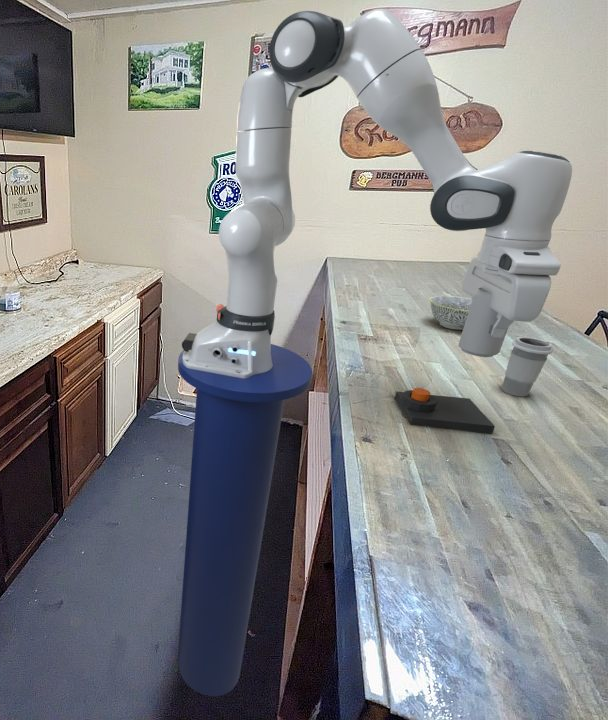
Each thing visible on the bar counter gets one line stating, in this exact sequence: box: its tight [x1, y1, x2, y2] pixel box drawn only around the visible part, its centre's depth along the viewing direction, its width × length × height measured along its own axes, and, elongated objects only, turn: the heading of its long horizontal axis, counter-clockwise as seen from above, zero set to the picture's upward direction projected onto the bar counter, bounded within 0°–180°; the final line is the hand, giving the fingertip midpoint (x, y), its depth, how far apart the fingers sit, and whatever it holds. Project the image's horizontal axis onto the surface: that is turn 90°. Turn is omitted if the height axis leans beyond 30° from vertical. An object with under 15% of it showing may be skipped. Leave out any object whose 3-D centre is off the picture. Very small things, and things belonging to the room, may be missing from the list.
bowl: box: [428, 295, 472, 331], centre depth 139 cm, size 16×16×8 cm
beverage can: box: [458, 288, 509, 358], centre depth 84 cm, size 6×6×12 cm
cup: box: [501, 336, 554, 397], centre depth 99 cm, size 7×7×12 cm
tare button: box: [411, 387, 431, 402], centre depth 92 cm, size 3×3×2 cm
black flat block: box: [394, 389, 496, 434], centre depth 92 cm, size 14×11×4 cm
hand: (485, 328), depth 85 cm, fingers closed on beverage can, 6 cm apart
